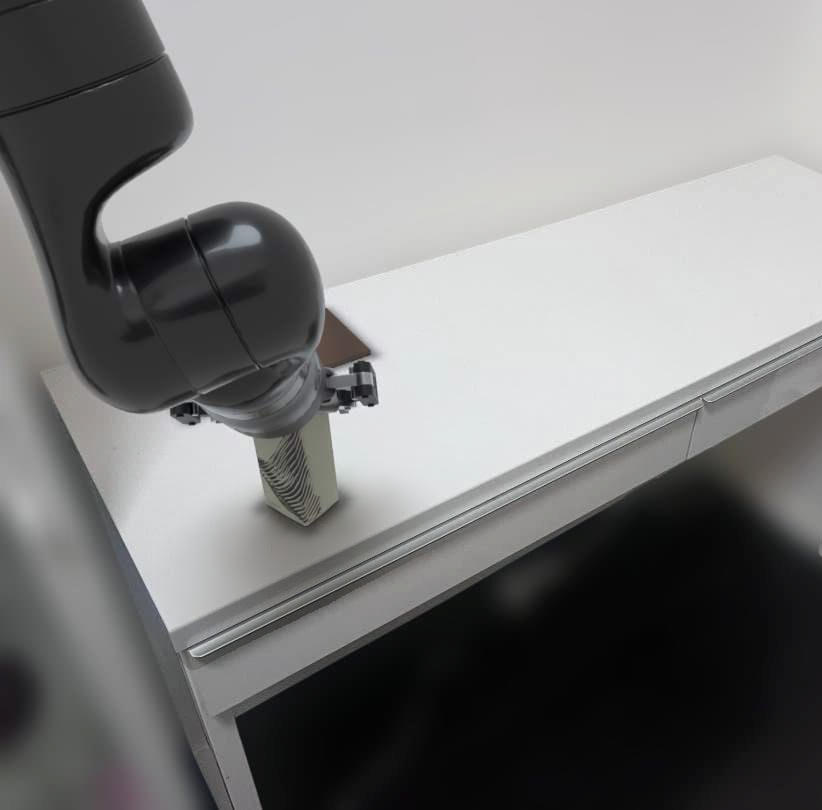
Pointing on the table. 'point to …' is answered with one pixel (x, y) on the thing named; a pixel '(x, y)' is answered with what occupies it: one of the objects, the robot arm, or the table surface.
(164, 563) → the table surface
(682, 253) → the table surface
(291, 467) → the box
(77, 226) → the robot arm
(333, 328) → the walnut board
